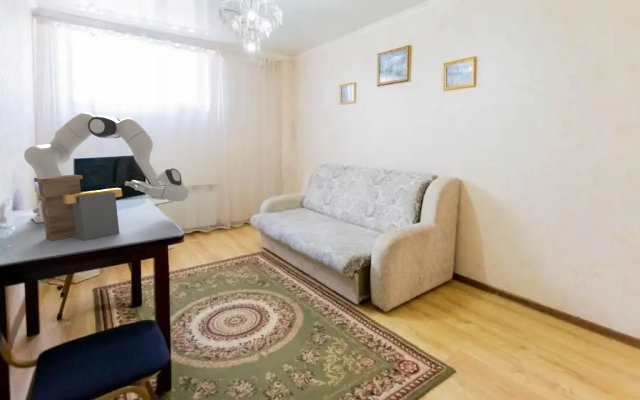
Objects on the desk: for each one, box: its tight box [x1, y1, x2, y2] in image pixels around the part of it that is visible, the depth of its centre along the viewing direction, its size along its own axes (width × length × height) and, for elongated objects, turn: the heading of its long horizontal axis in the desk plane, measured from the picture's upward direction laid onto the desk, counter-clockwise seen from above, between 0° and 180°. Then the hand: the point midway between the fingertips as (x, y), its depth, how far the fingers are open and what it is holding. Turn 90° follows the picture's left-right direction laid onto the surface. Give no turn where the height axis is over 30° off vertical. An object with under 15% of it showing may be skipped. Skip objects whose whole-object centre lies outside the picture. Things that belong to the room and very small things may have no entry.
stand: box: [33, 174, 84, 241], centre depth 151 cm, size 7×15×26 cm, turn 147°
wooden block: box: [62, 187, 123, 204], centre depth 151 cm, size 22×4×4 cm, turn 147°
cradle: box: [72, 192, 120, 241], centre depth 152 cm, size 8×14×18 cm, turn 148°
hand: (130, 185), depth 165 cm, fingers open, 8 cm apart
